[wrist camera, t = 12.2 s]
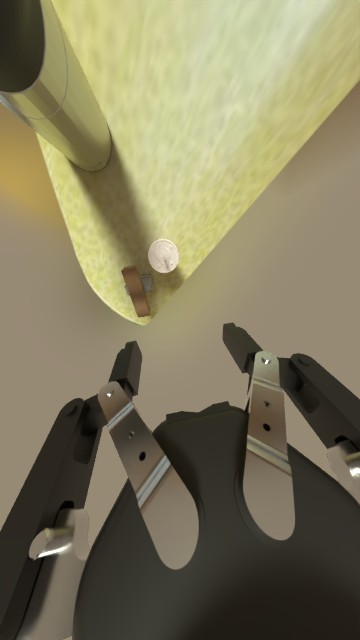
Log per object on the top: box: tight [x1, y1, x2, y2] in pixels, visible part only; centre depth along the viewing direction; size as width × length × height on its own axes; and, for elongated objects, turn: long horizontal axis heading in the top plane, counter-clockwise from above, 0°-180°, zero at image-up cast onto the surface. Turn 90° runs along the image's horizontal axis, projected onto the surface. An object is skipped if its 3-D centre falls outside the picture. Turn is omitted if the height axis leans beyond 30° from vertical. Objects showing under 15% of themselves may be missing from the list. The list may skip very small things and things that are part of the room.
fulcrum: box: [125, 275, 153, 295], centre depth 36 cm, size 4×7×5 cm, turn 97°
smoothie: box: [148, 239, 179, 273], centre depth 29 cm, size 6×6×14 cm
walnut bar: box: [121, 265, 150, 317], centre depth 33 cm, size 12×3×4 cm, turn 7°
